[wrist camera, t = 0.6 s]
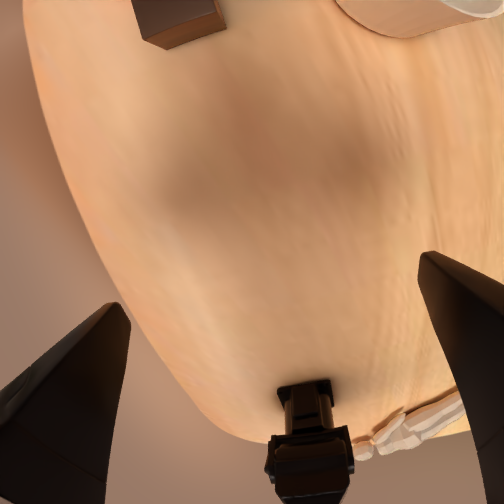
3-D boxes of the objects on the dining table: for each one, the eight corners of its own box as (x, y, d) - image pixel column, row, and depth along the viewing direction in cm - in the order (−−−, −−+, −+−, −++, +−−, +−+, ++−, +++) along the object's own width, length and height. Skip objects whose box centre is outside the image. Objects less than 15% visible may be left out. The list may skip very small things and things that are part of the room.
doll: (475, 357, 33) (336, 429, 41) (490, 382, 27) (338, 458, 35) (482, 394, 35) (364, 455, 43) (493, 417, 30) (367, 479, 38)
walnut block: (227, 29, 16) (217, 11, 12) (166, 50, 17) (142, 40, 13) (210, -19, 14) (197, -44, 10) (151, 3, 15) (126, -15, 11)
